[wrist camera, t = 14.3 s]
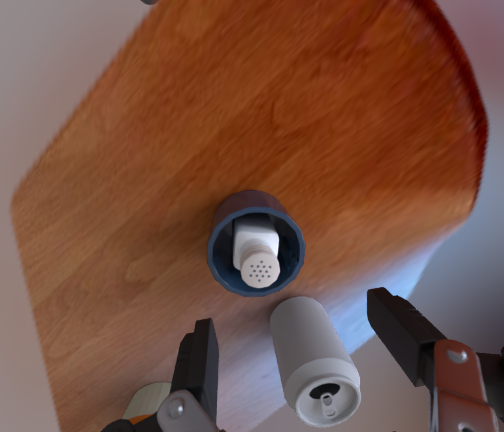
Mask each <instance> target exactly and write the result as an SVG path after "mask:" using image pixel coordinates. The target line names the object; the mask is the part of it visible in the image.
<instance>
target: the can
mask: <svg viewBox="0 0 504 432" xmlns="http://www.w3.org/2000/svg"><path fill="white" fill-rule="evenodd" d="M270 330H271V335H272V339H273V344H274V349H275V354H276V358H277V363H278V368H279V373H280V377H281V382H282V387H283V392H284V396H285V399H286V401H287V403H288V405H289V406H290V407H291V408H292V409H294V411H295V413H296V415H297V417H298V418H299V419H300V420H301V421H302V422H303V423H305V424H308V425H310V426H313V427H328V426H334V425H337V424H339V423H342V422H344V421H345V420H347V419H348V418H350V416H351V415H353V413H354V412H355V411H356V410H357V408H358V406H359V404H360V401H361V393H360V390H359V387H360V377H359V374H358V372H357V369H356V367H355V366H354V364H353V362H352V360H351V358H350V356H349V354H348V353H347V351H346V349H345V347H344V345H343V343H342V341H341V340H340V338H339V336H338V334H337V332H336V330H335V328H334V326H333V325H332V323H331V321H330V319H329V317H328V315H327V313H326V312H325V310H324V308H323V306H322V305H321V304H320V303H319V302H318V301H316V300H314V299H312V298H310V297H303V296H300V297H292V298H290V299H287V300H285V301H283V302H282V303H281V304H279V305H278V306H277V307H276V308H275V310H274V311H273V312H272V314H271V318H270Z"/></svg>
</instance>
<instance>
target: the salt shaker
mask: <svg viewBox="0 0 504 432" xmlns="http://www.w3.org/2000/svg"><path fill="white" fill-rule="evenodd" d="M278 244H279V237H278V234H277V232H276V230H275V228H274V226H273V223H272V221H271V219H270V217H269V216H267V215H262V214H244V215H242V216H239V217H236V218H234V231H233V264H234V266H235V268H237V269H238V270H240V271H241V276H242V279H243V280H244V281H245V282H246V283H247V284H248V285H249V286H252V287H256V288H263V287H268V286H269V285H271V284H272V283H273V282H275V281H276V280H277V277H278V275H279V273H280V268H279V262H278V259H277V254H278Z"/></svg>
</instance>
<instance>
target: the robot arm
mask: <svg viewBox="0 0 504 432" xmlns="http://www.w3.org/2000/svg"><path fill="white" fill-rule="evenodd" d="M367 317H368V321H369V323H370V325H371V327H372V328H373V330H374V331H375V332H376V334H377V335H378V337H379V338H380V339H381V341H382V342H383V343H384V345H385V346H386V347H387V349H388V350H389V352H390V353H391V354H392V356H393V357H394V358H395V360H396V361H397V363H398V364H399V365H400V367H401V368H402V370H403V371H404V372H405V374H406V375H407V376H408V378H409V379H410V381H411V382H412V383H413V385H414V386H415V387H419V386H424V385H426V387H427V388H428V389H429V432H500V431H499V427H498V422H497V417H496V416H498V417H499V418H500V419H501V420H502V422H503V423H504V347H503V348H502V350H501V354H500V355H499V354H487V353H477V352H474V351H473V350H472V349H471V348H470V347H468V346H467V345H465V344H463V343H461V342H458V341H455V340H449V339H447V338H446V337H445V336H444V335H443V334H442V333H441V332H440V331H439V330H438V329H437V328H436V327H434V325H433V324H432V323H430V322H429V321H428V320H427V319H426V318H425V317H424V316H422V314H421V313H420V312H419V311H418V310H416V308H415V307H414V306H413V305H412V304H410V303H409V302H408V301H407V300H405V299H403V298H401V297H399V296H398V295H396V296H393V295H392V294H391V293H390V292H389V291H388V290H387V289H386V288H384V287H380V288H375V289H369V290H368V291H367ZM178 353H179V354H178V356H177V362H176V365H175V370H174V374H173V379H172V383H171V388H170V392H169V395H168V396H167V397H166V398H165V399H164V400H163V402H162V403H161V404H160V406H159V409H158V411H157V412H155V413H154V414H153V415H151V416H149V417H147V418H145V419H143V420H142V421H140V422H138V423H136V424H134V425H133V424H132V423H131V422H130V421H129V420H127V419H120V420H116V421H114V422H112V423H110V424H109V425H107V426H106V427H105V428H104V429H103V430H102V431H101V432H226V431H225V430H224V429H222V430H219V429H218V427H217V426H216V415H217V389H218V364H219V349H218V342H217V338H216V333H215V329H214V325H213V321H212V319H211V318H208V319H203V320H197V321H196V324H195V330H194V332H193V333H187V334H186V335H185V337H184V338H183V340H182V341H181V343H180V347H179V352H178Z"/></svg>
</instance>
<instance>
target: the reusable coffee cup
mask: <svg viewBox="0 0 504 432" xmlns="http://www.w3.org/2000/svg"><path fill="white" fill-rule="evenodd" d="M170 388H171V383H167V382H157V383H152V384H149V385H146V386H144V387H142V388H141V389H139V390H138V391H137V392H136V393H135V395H134V396H133V398H132V400H131V402H130V404H129V406H128V408H127V410H126V412H125V413H124V415H123V417H122V419H127V420H129V421H130V422H131V423H132V424H133V425H134V424H136V423H138V422H140V421H142V420H143V419H145V418H147V417H149V416H151V415H153V414H154V413H155V412H157V411H158V409H159V406H160V404H161V403H162V402H163V400H164V399H165V398H166V397H167V396H168V395H169V392H170Z"/></svg>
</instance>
